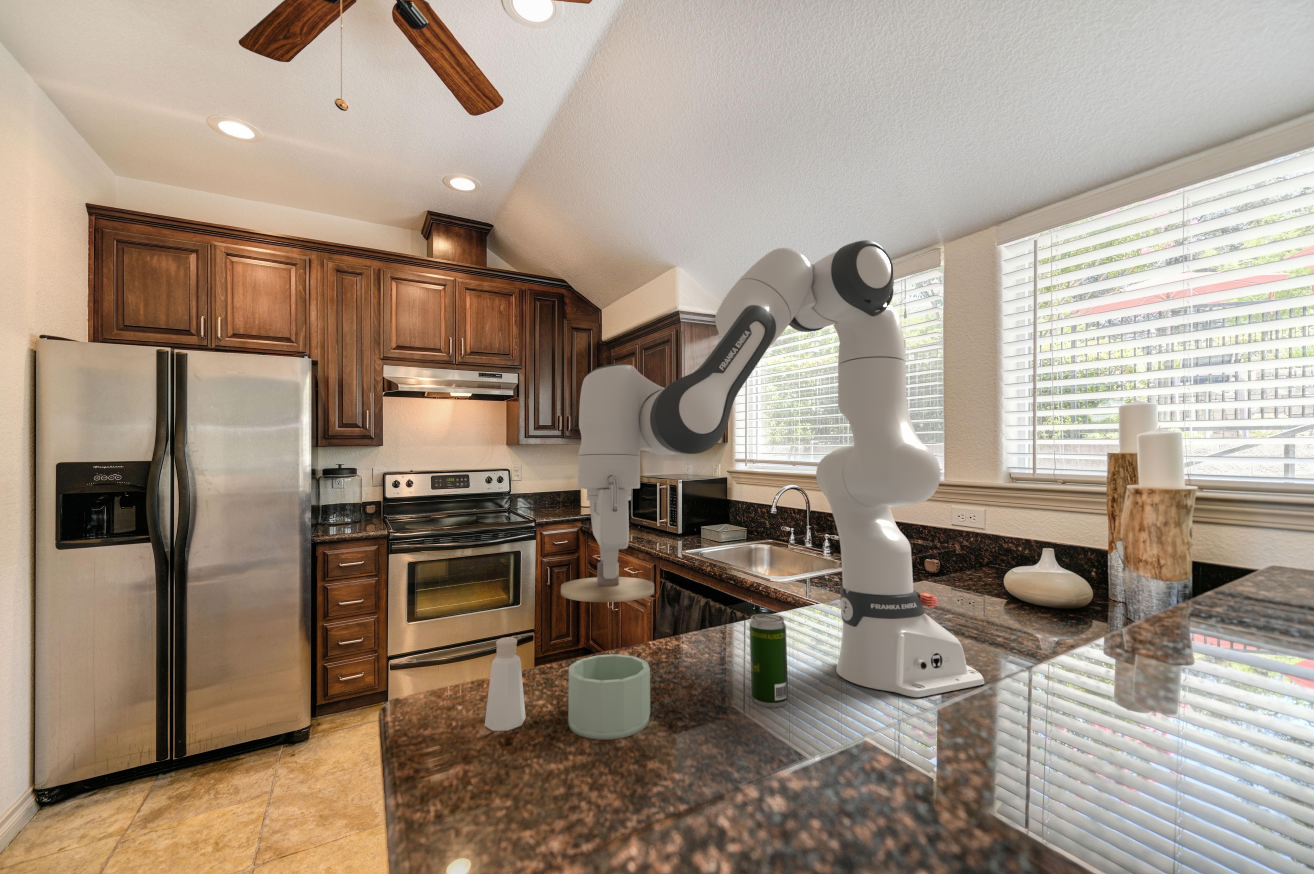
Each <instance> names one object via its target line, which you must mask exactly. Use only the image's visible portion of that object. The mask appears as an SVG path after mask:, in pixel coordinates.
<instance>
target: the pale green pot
mask: <svg viewBox="0 0 1314 874" xmlns="http://www.w3.org/2000/svg"><path fill="white" fill-rule="evenodd" d="M567 703H568V709H567V710H568V716H567V717H568V719H567V721H568V724H567V725H568V728H569V729H570V730H571V731H572V732H573V733H574V734H576V735H577V736H580V737H583V738H585V739H586V738H587V739H591V740H601V741H603V740H605V741H608V740H617V739H619V740H620V739H622V738H623V739H624V738H627V737H631V736H633V735H635V734H638V733H640V732H641V731H643V730H644V729H646V727H647V726H648V725H649V723H650V715H651V667H650V666H649V663H648V661H647V660H645V659H642V658H640V657H637V656H634V655H629V654H627V655H626V654H617V653H615V654H599V655H594V656H589V657H585V658H581V659H578V660H576V661H575V662H573V663H572V664H570V665H569V666H568V702H567Z"/></svg>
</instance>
